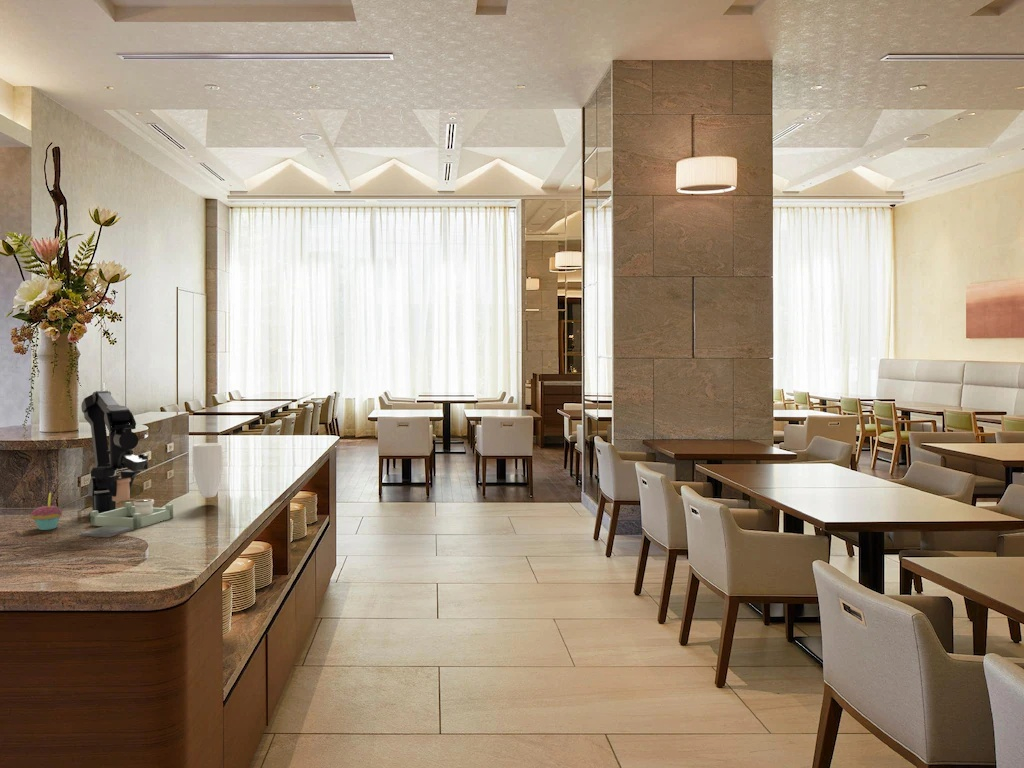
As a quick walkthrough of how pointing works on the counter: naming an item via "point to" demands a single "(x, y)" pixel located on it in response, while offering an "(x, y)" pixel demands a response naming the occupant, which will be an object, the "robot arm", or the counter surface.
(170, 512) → the cold frame
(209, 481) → the cup
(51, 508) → the cupcake
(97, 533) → the slate tile
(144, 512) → the pot
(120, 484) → the terracotta pot
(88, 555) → the counter surface
